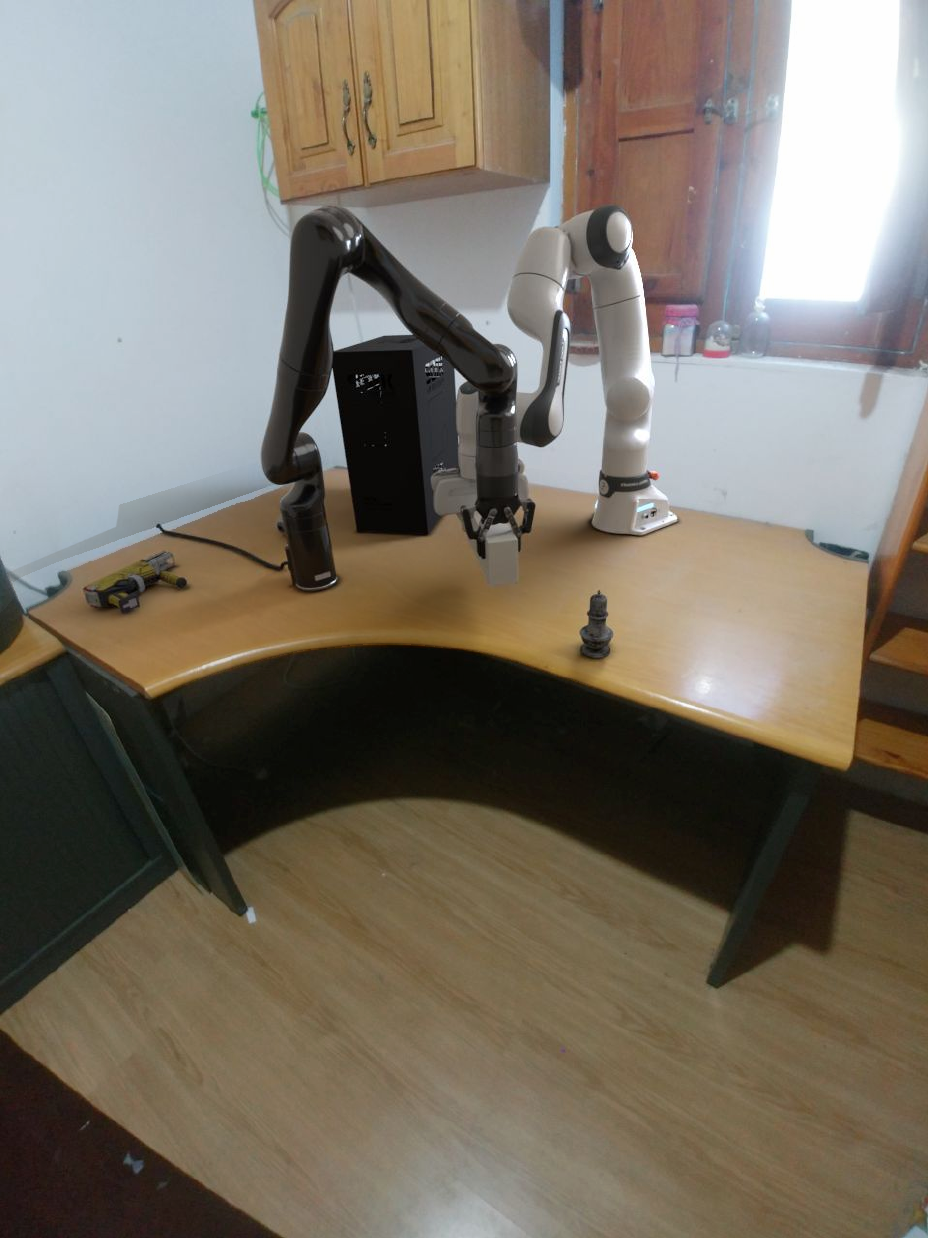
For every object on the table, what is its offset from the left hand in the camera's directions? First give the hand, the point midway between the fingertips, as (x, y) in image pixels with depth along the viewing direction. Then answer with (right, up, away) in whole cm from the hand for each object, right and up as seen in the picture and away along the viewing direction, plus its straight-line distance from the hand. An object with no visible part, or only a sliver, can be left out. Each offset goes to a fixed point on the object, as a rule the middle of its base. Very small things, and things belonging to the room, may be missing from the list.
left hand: (499, 555), depth 115 cm
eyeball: (-55, +11, +50) cm, 75 cm away
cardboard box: (-22, +20, +62) cm, 69 cm away
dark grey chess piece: (+17, -18, -7) cm, 26 cm away
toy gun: (-79, -6, +24) cm, 82 cm away
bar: (-1, 0, +9) cm, 9 cm away
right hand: (-3, +7, +14) cm, 16 cm away
